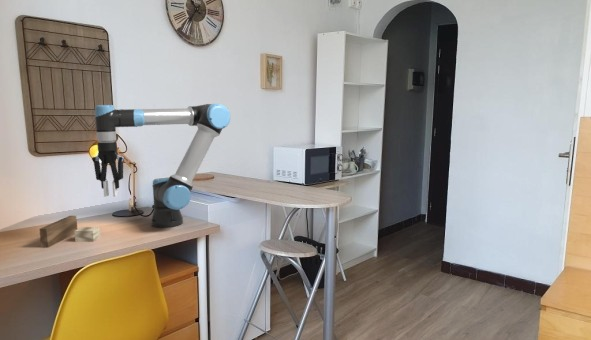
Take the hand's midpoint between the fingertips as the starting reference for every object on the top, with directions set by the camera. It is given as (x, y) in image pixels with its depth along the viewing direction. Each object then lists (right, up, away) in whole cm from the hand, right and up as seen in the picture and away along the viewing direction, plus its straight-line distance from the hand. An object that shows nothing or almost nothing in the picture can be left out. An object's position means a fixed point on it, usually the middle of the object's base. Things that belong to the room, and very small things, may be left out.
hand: (111, 195), depth 186 cm
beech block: (-12, -20, +4) cm, 23 cm away
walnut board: (-24, -20, +4) cm, 31 cm away
